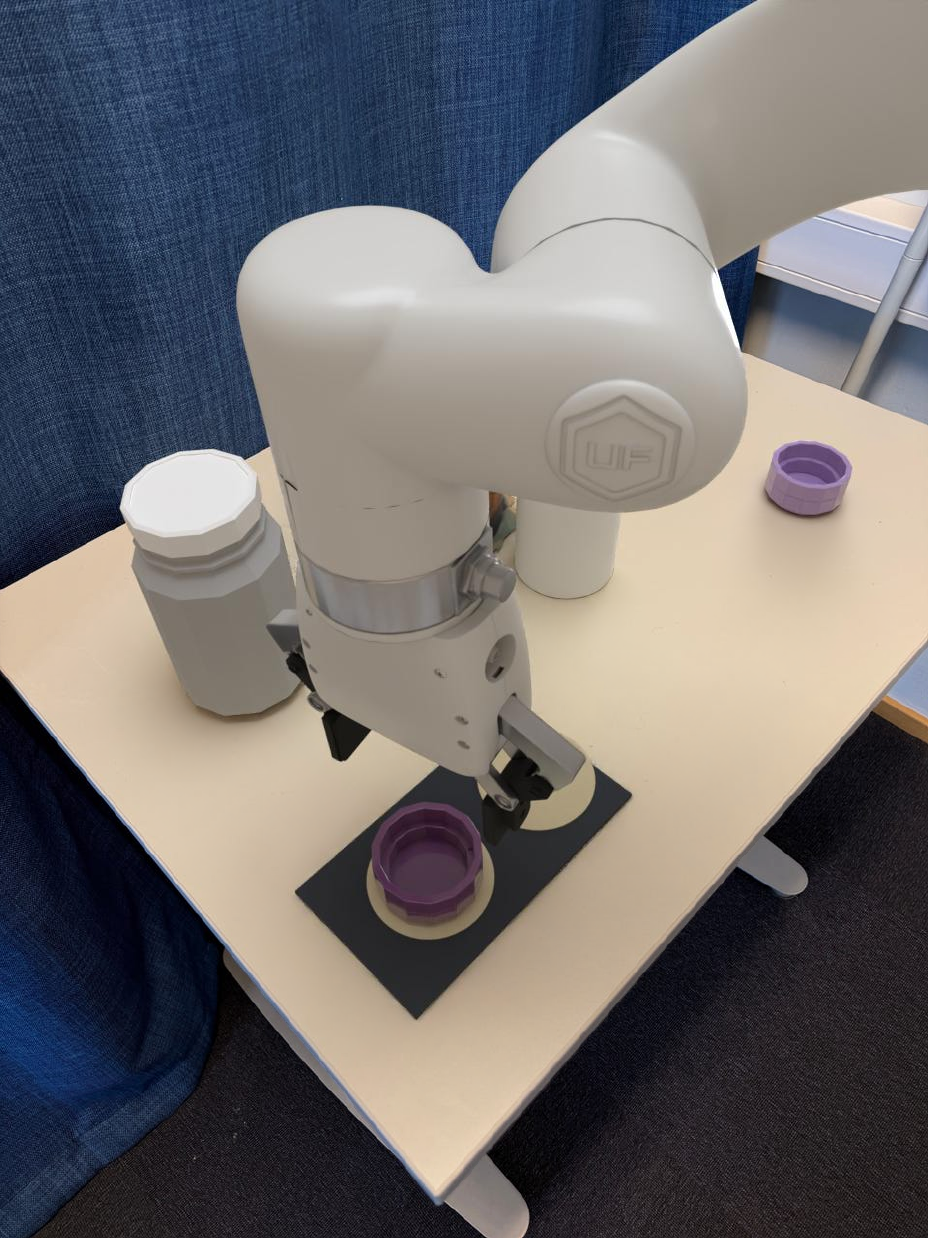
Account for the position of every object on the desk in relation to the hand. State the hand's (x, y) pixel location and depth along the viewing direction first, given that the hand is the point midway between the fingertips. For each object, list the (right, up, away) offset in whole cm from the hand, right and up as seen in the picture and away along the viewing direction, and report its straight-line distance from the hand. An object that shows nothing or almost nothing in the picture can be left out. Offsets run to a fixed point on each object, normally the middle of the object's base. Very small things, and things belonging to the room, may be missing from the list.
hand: (427, 780), depth 48 cm
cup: (+10, +13, +28) cm, 32 cm away
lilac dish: (+32, +20, +33) cm, 50 cm away
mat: (+2, -6, +10) cm, 12 cm away
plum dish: (0, -8, +8) cm, 11 cm away
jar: (-14, +4, +21) cm, 25 cm away
